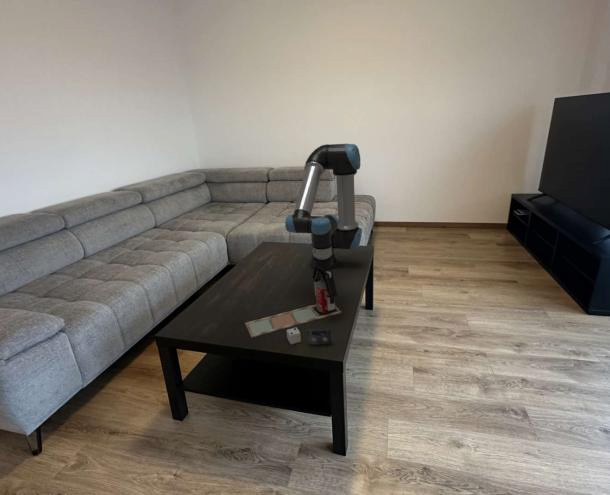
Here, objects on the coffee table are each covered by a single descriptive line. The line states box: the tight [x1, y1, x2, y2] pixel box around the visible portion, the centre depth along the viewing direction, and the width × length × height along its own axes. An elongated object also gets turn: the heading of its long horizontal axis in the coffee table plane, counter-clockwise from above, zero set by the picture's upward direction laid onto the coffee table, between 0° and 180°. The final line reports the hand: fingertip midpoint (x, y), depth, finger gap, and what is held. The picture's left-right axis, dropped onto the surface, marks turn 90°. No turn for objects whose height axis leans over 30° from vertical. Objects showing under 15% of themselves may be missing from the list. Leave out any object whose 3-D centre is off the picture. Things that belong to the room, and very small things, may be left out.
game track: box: [244, 303, 342, 338], centre depth 147 cm, size 39×10×1 cm, turn 111°
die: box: [286, 326, 302, 345], centre depth 132 cm, size 4×4×4 cm
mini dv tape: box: [307, 328, 332, 346], centre depth 129 cm, size 8×2×6 cm, turn 87°
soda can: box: [315, 281, 333, 314], centre depth 149 cm, size 7×7×12 cm
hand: (324, 301), depth 150 cm, fingers open, 13 cm apart
